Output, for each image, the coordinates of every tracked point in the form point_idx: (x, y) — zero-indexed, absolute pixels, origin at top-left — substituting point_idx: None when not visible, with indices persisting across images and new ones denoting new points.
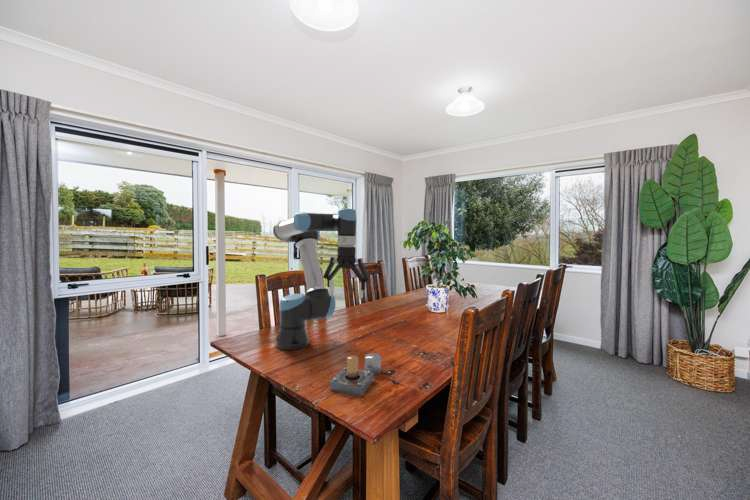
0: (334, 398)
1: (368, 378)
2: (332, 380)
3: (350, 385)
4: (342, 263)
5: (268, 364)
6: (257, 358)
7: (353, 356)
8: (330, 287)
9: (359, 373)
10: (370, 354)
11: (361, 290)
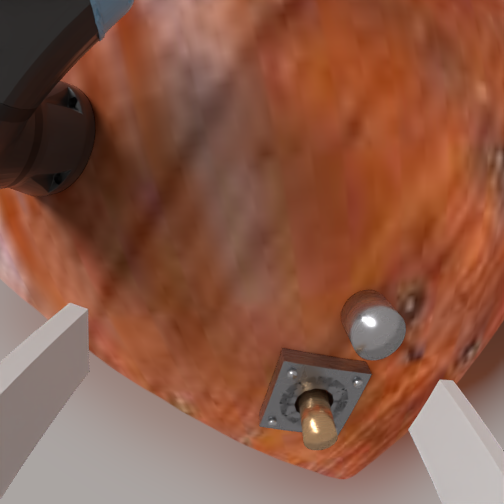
0: (277, 432)
1: (354, 402)
2: (265, 422)
3: None
4: None
5: (56, 300)
6: (18, 266)
7: (322, 434)
8: (41, 431)
9: (332, 386)
10: (372, 323)
11: (460, 470)
